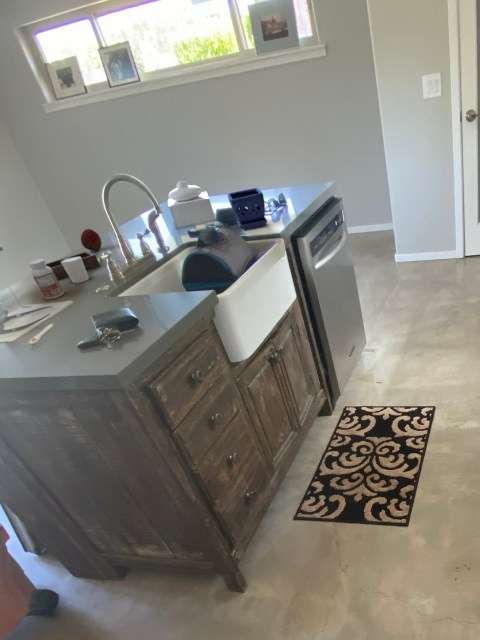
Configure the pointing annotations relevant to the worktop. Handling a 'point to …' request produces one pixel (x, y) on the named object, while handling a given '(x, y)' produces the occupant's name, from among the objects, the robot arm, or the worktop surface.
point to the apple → (90, 240)
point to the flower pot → (248, 208)
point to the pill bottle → (46, 279)
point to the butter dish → (189, 205)
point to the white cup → (75, 269)
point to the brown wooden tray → (57, 267)
